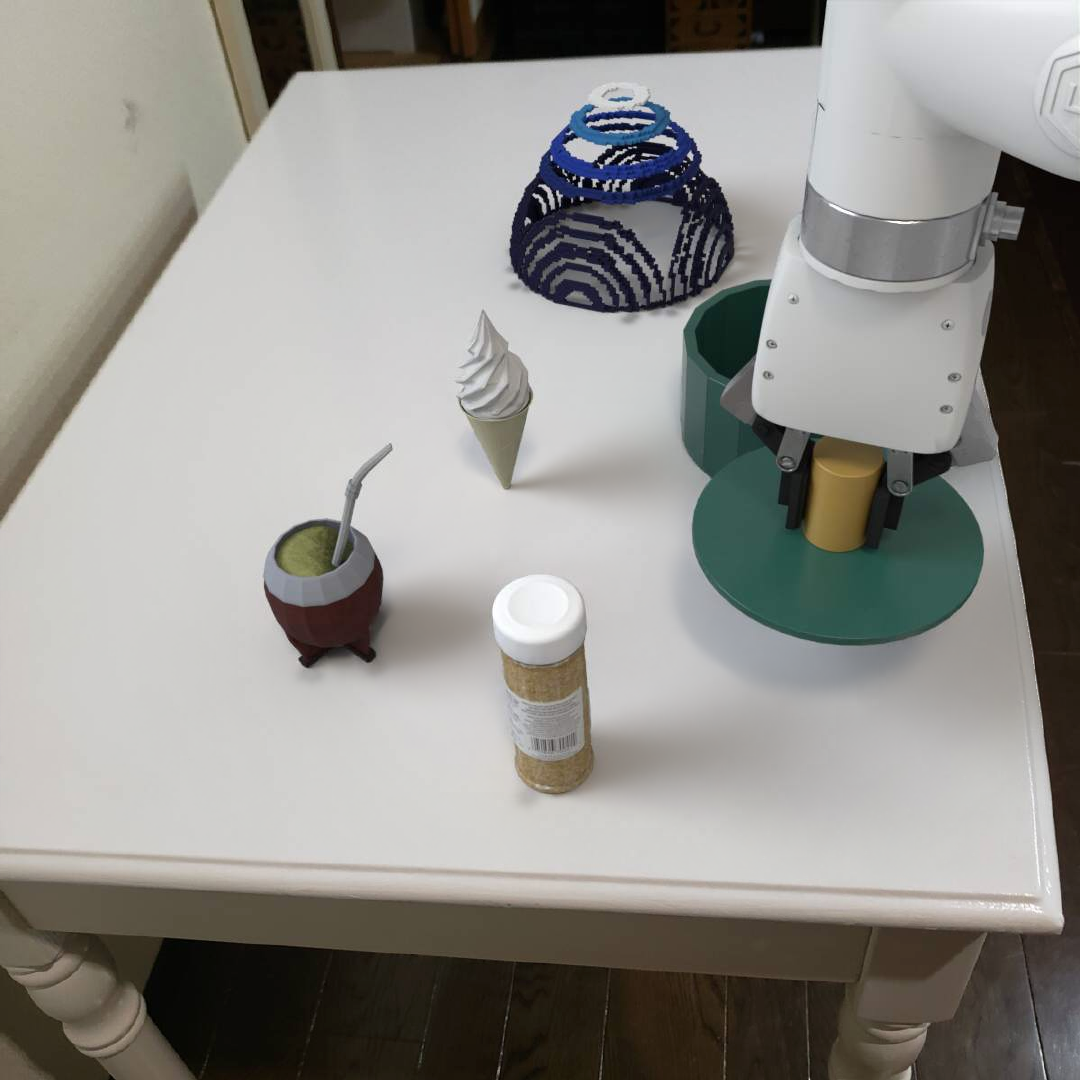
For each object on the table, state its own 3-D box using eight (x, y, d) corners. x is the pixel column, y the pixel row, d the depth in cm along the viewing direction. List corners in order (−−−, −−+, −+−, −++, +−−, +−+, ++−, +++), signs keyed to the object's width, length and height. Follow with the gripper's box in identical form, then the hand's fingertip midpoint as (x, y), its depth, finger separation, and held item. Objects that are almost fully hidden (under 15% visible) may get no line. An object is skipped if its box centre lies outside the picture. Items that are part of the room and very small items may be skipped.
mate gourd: (263, 642, 71) (196, 465, 61) (355, 572, 75) (308, 393, 65) (339, 702, 67) (282, 523, 57) (432, 624, 71) (395, 444, 61)
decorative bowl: (566, 183, 112) (558, 35, 102) (760, 214, 105) (772, 60, 95) (474, 286, 99) (455, 129, 89) (687, 329, 92) (692, 165, 82)
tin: (899, 392, 85) (919, 296, 79) (861, 518, 76) (880, 420, 70) (713, 358, 89) (718, 265, 83) (655, 473, 80) (656, 377, 74)
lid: (996, 485, 65) (1024, 393, 60) (957, 688, 55) (987, 597, 50) (733, 431, 70) (741, 342, 65) (654, 608, 60) (656, 518, 55)
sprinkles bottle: (599, 734, 64) (592, 574, 55) (587, 802, 61) (577, 645, 52) (522, 725, 65) (501, 565, 56) (506, 792, 62) (481, 635, 53)
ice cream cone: (461, 476, 81) (433, 299, 71) (526, 456, 82) (508, 278, 72) (484, 519, 78) (459, 340, 67) (552, 497, 79) (537, 318, 68)
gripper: (1104, 202, 48) (1003, 511, 61) (727, 153, 53) (708, 448, 66) (1092, 295, 43) (986, 609, 56) (679, 231, 48) (669, 533, 61)
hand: (836, 519), depth 61 cm, fingers closed on lid, 3 cm apart
